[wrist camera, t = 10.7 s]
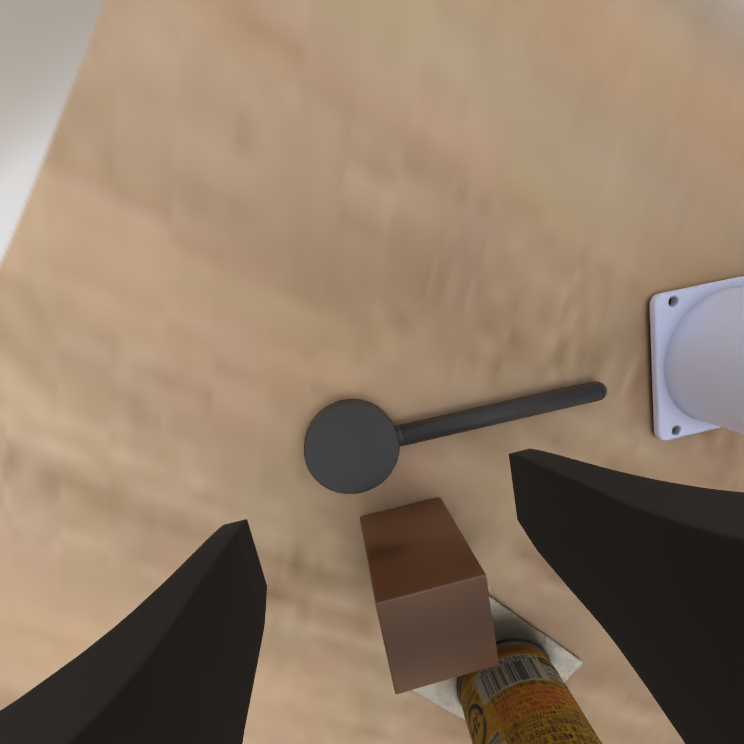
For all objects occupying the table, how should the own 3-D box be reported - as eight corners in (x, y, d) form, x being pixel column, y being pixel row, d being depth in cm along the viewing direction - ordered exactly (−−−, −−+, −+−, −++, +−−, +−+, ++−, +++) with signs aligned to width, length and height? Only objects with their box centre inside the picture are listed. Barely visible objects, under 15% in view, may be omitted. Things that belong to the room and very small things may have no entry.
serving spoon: (595, 344, 21) (609, 347, 20) (601, 427, 22) (614, 433, 21) (295, 410, 19) (294, 416, 18) (315, 494, 20) (315, 504, 19)
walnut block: (452, 567, 22) (499, 665, 16) (375, 587, 22) (395, 695, 16) (440, 496, 21) (486, 574, 15) (359, 516, 21) (375, 603, 15)
